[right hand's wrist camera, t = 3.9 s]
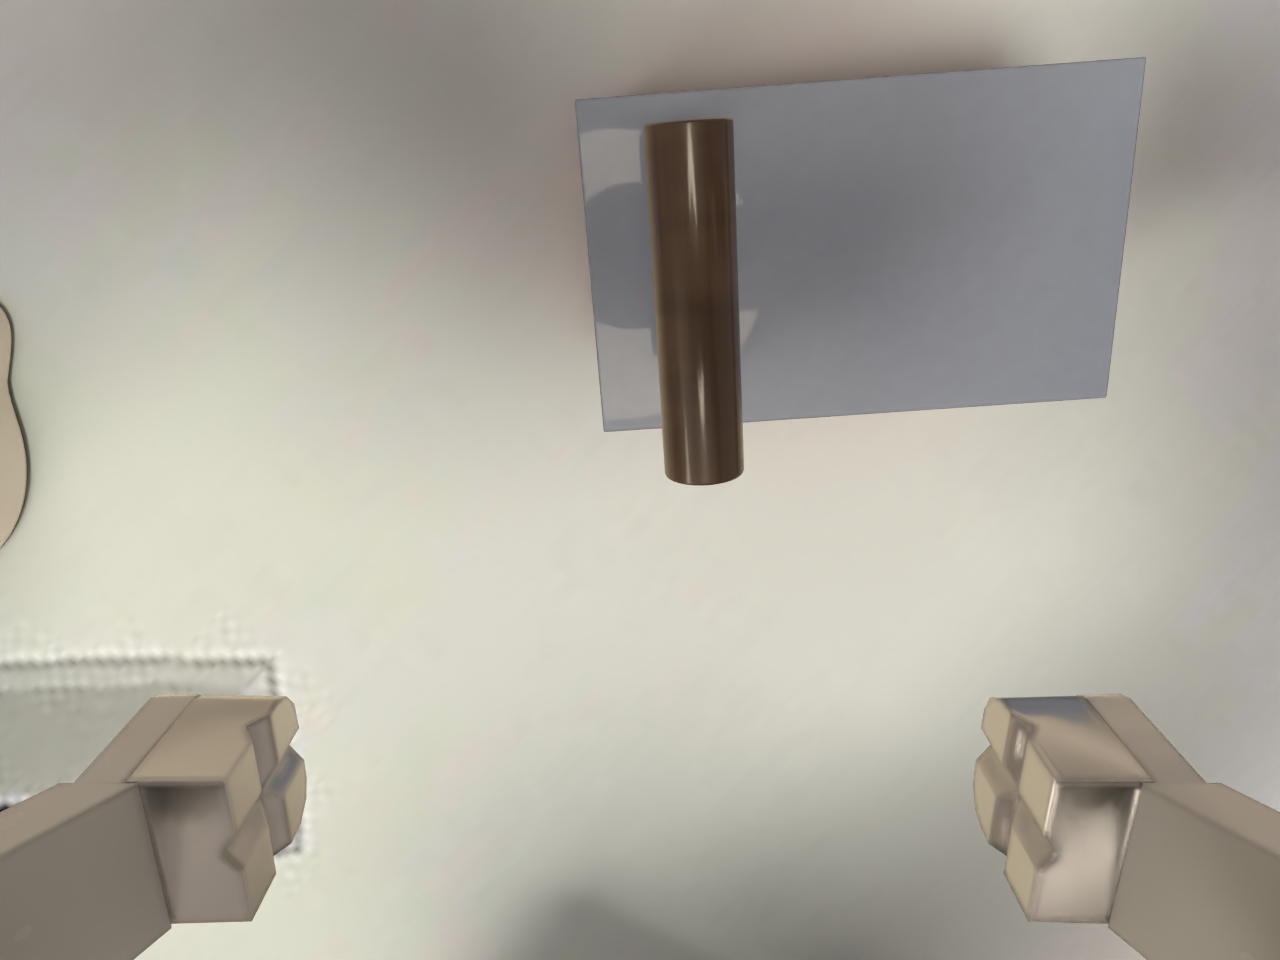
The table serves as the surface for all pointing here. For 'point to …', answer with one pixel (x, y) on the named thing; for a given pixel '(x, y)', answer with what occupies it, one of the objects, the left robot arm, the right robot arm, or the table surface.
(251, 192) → the table surface
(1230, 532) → the table surface
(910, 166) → the lid
